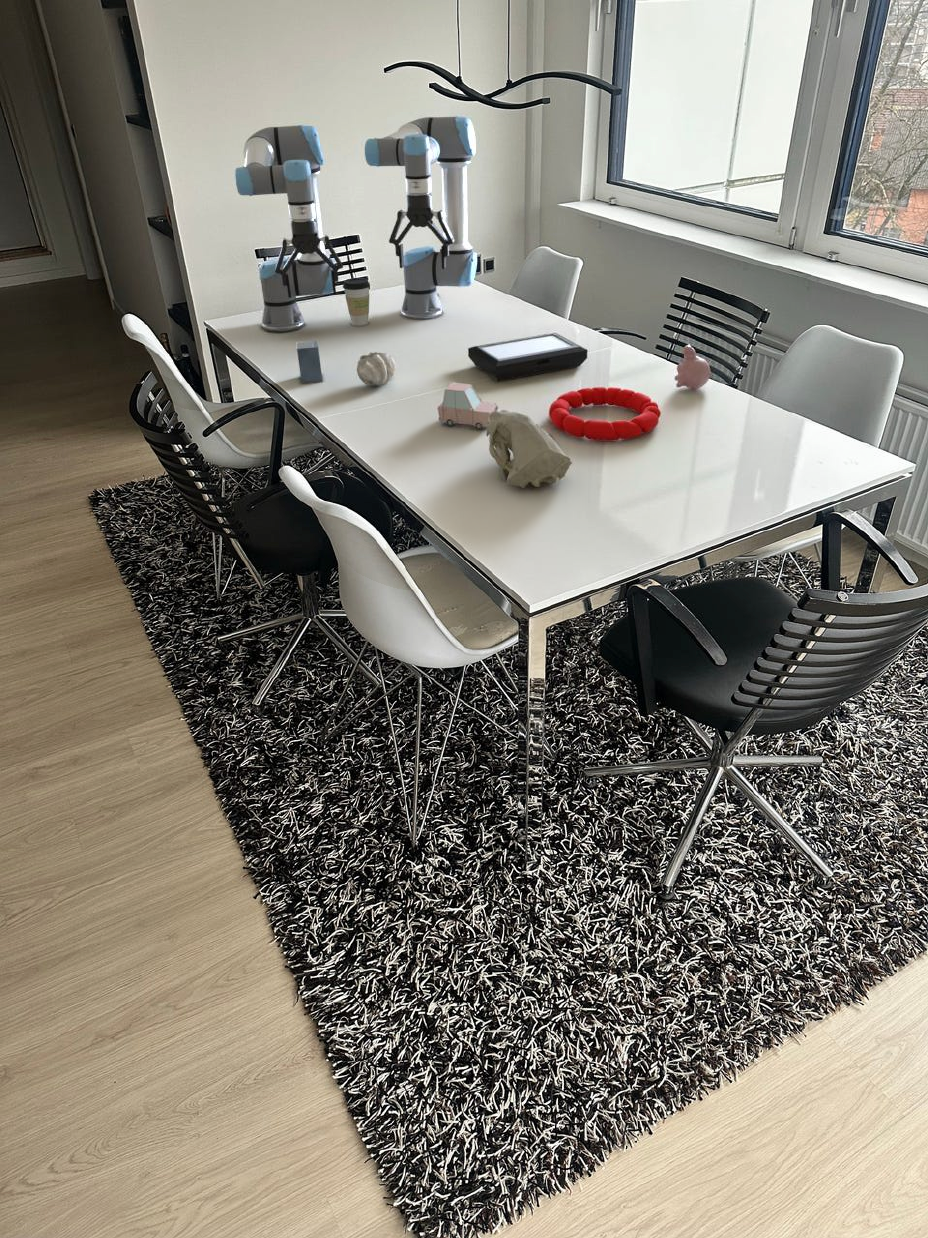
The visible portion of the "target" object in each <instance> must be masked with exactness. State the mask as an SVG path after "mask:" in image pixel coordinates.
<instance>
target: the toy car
mask: <svg viewBox="0 0 928 1238" xmlns="http://www.w3.org/2000/svg"><path fill="white" fill-rule="evenodd" d="M498 409H499V404H498V403H497V402H490V401H489V402H487V401H483V397H481V396H480V395H479V394H478V393H477V391H476V390H475V389H474V386H472V384H469V383H459V382H451V383H450V384H449V385H448V386H447V387H446V388H445V389H444V394H443V399H442V403H440V404H439V405H438V406H437V413H438V421H439V422H443V423H446V425H447V426H448V427H452V426H454V425H455V424H461V425H469V426H473V427H475V429H476V430H479V431H480V430H481V429H483V428H485V427H486V428H487V423H488V422H490V414H491V413H492V412H496V411H499V410H498Z"/></svg>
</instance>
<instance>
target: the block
mask: <svg viewBox="0 0 928 1238" xmlns="http://www.w3.org/2000/svg"><path fill="white" fill-rule="evenodd" d="M295 344H296V353H297V359H298V360H297V361H298V368H299V374H300V383H301V384H310V383H311V384H312V383H322V382H323V375H322V366H321V359H320V358H321V357H320V350H319V343H318V340H312V341H311V340H309V341H297V342H296V343H295Z"/></svg>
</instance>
